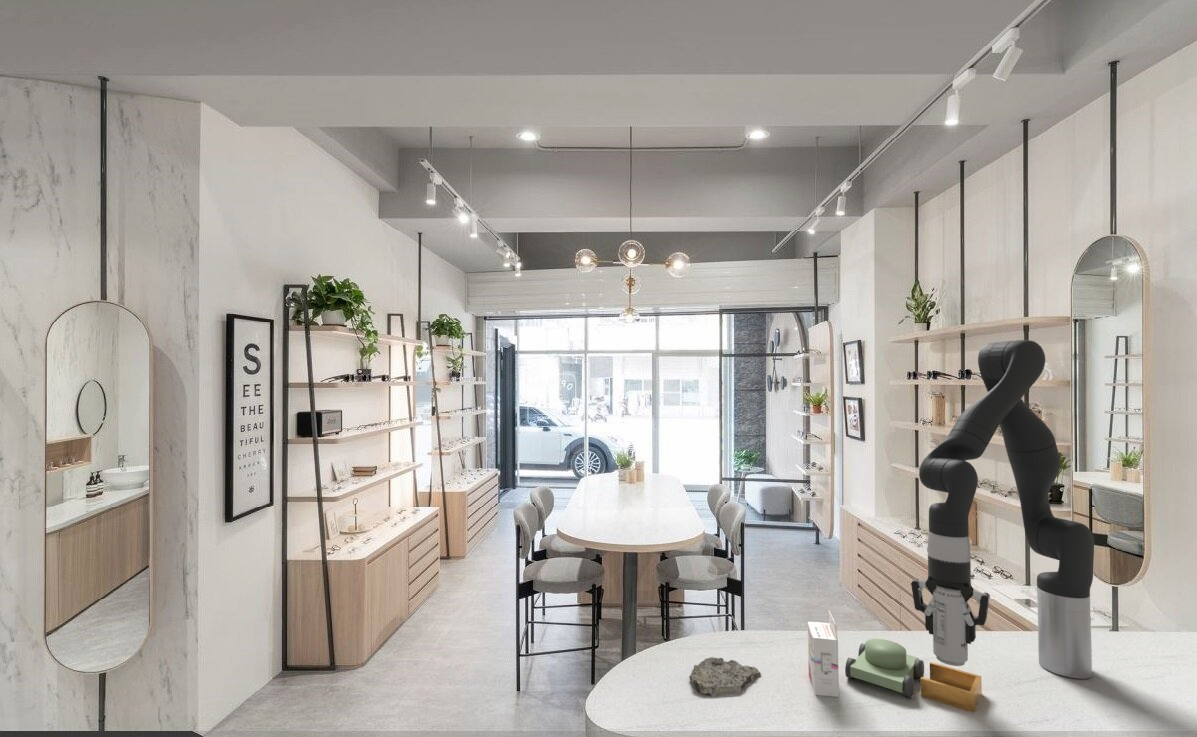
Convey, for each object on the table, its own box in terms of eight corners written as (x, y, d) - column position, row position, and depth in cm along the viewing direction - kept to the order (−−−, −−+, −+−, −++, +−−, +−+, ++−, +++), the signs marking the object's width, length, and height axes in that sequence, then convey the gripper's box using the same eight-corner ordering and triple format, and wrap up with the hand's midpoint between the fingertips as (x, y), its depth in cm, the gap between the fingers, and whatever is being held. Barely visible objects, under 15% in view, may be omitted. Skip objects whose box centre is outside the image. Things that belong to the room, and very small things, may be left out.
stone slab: (673, 686, 120) (673, 672, 120) (715, 657, 133) (715, 644, 133) (725, 709, 112) (725, 694, 112) (764, 676, 124) (764, 662, 124)
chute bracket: (930, 678, 122) (930, 661, 122) (981, 693, 116) (981, 676, 116) (920, 695, 115) (920, 678, 116) (974, 712, 109) (973, 694, 109)
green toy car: (864, 657, 132) (864, 629, 132) (924, 675, 123) (924, 645, 124) (844, 681, 121) (844, 650, 121) (908, 702, 113) (908, 669, 113)
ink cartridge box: (807, 674, 124) (806, 606, 124) (831, 677, 123) (830, 608, 123) (813, 695, 116) (813, 622, 116) (839, 698, 115) (838, 624, 115)
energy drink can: (971, 669, 112) (970, 593, 113) (936, 664, 114) (935, 589, 115) (963, 656, 118) (962, 583, 118) (930, 651, 120) (929, 579, 120)
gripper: (993, 558, 115) (994, 642, 114) (914, 545, 124) (915, 622, 124) (988, 567, 109) (989, 655, 109) (905, 552, 119) (906, 633, 118)
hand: (949, 637), depth 116 cm, fingers closed on energy drink can, 6 cm apart
